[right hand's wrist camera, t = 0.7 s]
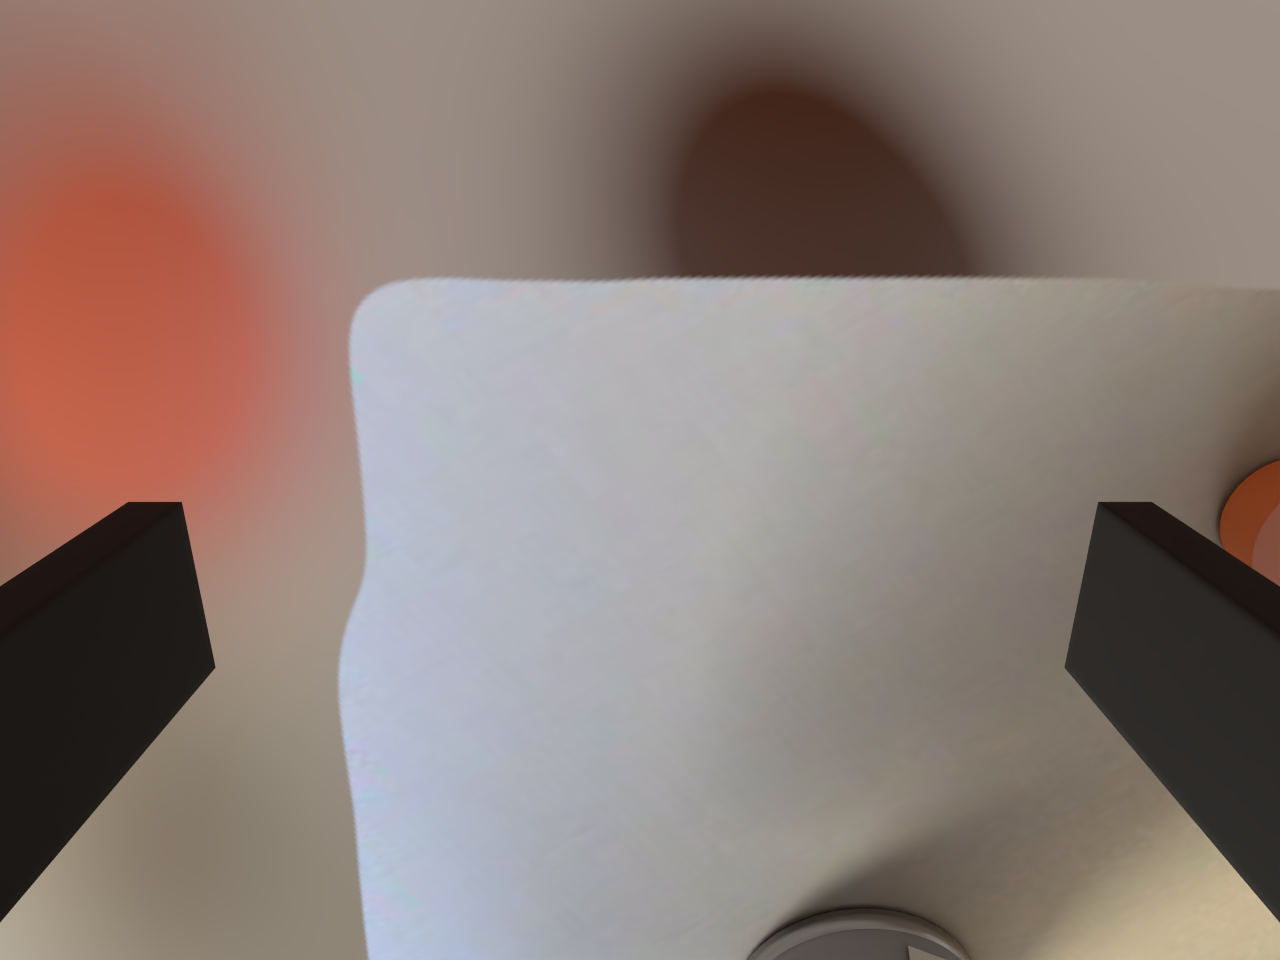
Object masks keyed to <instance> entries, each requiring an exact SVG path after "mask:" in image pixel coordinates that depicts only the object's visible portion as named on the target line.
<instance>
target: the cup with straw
mask: <svg viewBox="0 0 1280 960" xmlns="http://www.w3.org/2000/svg"><path fill="white" fill-rule="evenodd" d="M1220 538H1221V542H1222V545H1223V547H1224V549H1225V551H1227V552H1228V553H1230V554H1231V555H1233V556H1234V557H1236V558H1237V559H1239V560H1240V561H1242V562H1244V563H1245V564H1247V565H1248V566H1250V567H1251V568H1253V569H1254V570H1256V571H1257V572H1259V573H1260V574H1262V575H1263V576H1265V577H1266V578H1268V579H1269V580H1271V581H1272V582H1274V583H1275V584H1277V585H1278V586H1280V460H1279V461H1276V462H1273V463H1270V464H1268V465H1266V466H1264V467H1262V468H1260V469H1259V470H1257V471H1255V472H1254V473H1253V474H1251V475H1250V476H1249V477H1247V478H1246V479H1245V480H1244V481H1243V482H1242V483H1241V484H1240V485H1239V486H1238V487H1237V488H1236V489H1235V490H1234V492H1233V493H1232V495H1231V496H1230V498H1229V499H1228V501H1227V503H1226V505H1225V507H1224V510H1223V512H1222V516H1221V520H1220Z"/></svg>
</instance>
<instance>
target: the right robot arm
mask: <svg viewBox="0 0 1280 960" xmlns="http://www.w3.org/2000/svg"><path fill="white" fill-rule="evenodd" d="M214 669H215V663H214V658H213V653H212V648H211V643H210V639H209V634H208V629H207V624H206V619H205V614H204V609H203V604H202V599H201V594H200V589H199V584H198V580H197V575H196V570H195V565H194V560H193V555H192V550H191V545H190V540H189V535H188V530H187V525H186V521H185V516H184V511H183V506H182V502H128V503H126V504H125V505H123V506H121V507H120V508H119V509H117V510H115V511H114V512H112V513H111V514H109V515H108V516H106V517H105V518H103V519H102V520H100V521H99V522H97V523H96V524H94V525H93V526H91V527H90V528H88V529H87V530H85V531H84V532H82V533H81V534H79V535H77V536H76V537H74V538H73V539H71V540H70V541H68V542H67V543H65V544H64V545H62V546H61V547H59V548H58V549H56V550H55V551H53V552H52V553H50V554H49V555H47V556H46V557H44V558H43V559H41V560H40V561H38V562H36V563H35V564H33V565H32V566H31V567H29V568H27V569H26V570H24V571H23V572H21V573H20V574H18V575H17V576H15V577H14V578H12V579H11V580H9V581H8V582H6V583H5V584H3V585H2V586H0V922H1V921H2V920H3V918H4V917H5V916H6V915H7V914H8V913H9V911H10V910H11V909H12V908H13V907H14V905H15V904H16V903H17V902H18V901H19V900H20V898H21V897H22V896H23V895H24V894H25V892H26V891H27V890H28V889H29V888H30V886H31V885H32V884H33V883H34V882H35V880H36V879H37V878H38V877H39V876H40V875H41V873H42V872H43V871H44V870H45V869H46V867H47V866H48V865H49V864H50V863H51V862H52V860H53V859H54V858H55V857H56V856H57V855H58V853H59V852H60V851H61V850H62V849H63V847H64V846H65V845H66V844H67V843H68V842H69V840H70V839H71V838H72V837H73V836H74V834H75V833H76V832H77V831H78V830H79V828H80V827H81V826H82V825H83V824H84V823H85V821H86V820H87V819H88V818H89V817H90V815H91V814H92V813H93V812H94V811H95V810H96V808H97V807H98V806H99V805H100V804H101V802H102V801H103V800H104V799H105V798H106V796H107V795H108V794H109V793H110V792H111V791H112V789H113V788H114V787H115V786H116V785H117V783H118V782H119V781H120V780H121V779H122V778H123V776H124V775H125V774H126V773H127V772H128V770H129V769H130V768H131V767H132V766H133V765H134V763H135V762H136V761H137V760H138V759H139V757H140V756H141V755H142V754H143V753H144V752H145V750H146V749H147V748H148V747H149V746H150V744H151V743H152V742H153V741H154V740H155V739H156V737H157V736H158V735H159V734H160V733H161V731H162V730H163V729H164V728H165V727H166V725H167V724H168V723H169V722H170V721H171V720H172V718H173V717H174V716H175V715H176V714H177V712H178V711H179V710H180V709H181V708H182V707H183V705H184V704H185V703H186V702H187V701H188V699H189V698H190V697H191V696H192V695H193V694H194V692H195V691H196V690H197V689H198V688H199V686H200V685H201V684H202V683H203V682H204V681H205V679H206V678H207V677H208V676H209V675H210V673H211V672H212V671H213V670H214ZM1065 669H1066V670H1067V671H1068V672H1069V673H1070V675H1071V676H1072V677H1073V678H1074V679H1075V681H1076V682H1077V683H1078V684H1079V685H1080V686H1081V688H1082V689H1083V690H1084V691H1085V692H1086V694H1087V695H1088V696H1089V697H1090V698H1091V699H1092V701H1093V702H1094V703H1095V704H1096V705H1097V707H1098V708H1099V709H1100V710H1101V711H1102V712H1103V714H1104V715H1105V716H1106V717H1107V718H1108V720H1109V721H1110V722H1111V723H1112V724H1113V726H1114V727H1115V728H1116V729H1117V730H1118V731H1119V733H1120V734H1121V735H1122V736H1123V737H1124V739H1125V740H1126V741H1127V742H1128V743H1129V744H1130V746H1131V747H1132V748H1133V749H1134V750H1135V752H1136V753H1137V754H1138V755H1139V756H1140V757H1141V759H1142V760H1143V761H1144V762H1145V763H1146V765H1147V766H1148V767H1149V768H1150V769H1151V770H1152V772H1153V773H1154V774H1155V775H1156V776H1157V778H1158V779H1159V780H1160V781H1161V782H1162V784H1163V785H1164V786H1165V787H1166V788H1167V789H1168V791H1169V792H1170V793H1171V794H1172V795H1173V797H1174V798H1175V799H1176V800H1177V801H1178V802H1179V804H1180V805H1181V806H1182V807H1183V808H1184V810H1185V811H1186V812H1187V813H1188V814H1189V815H1190V817H1191V818H1192V819H1193V820H1194V821H1195V823H1196V824H1197V825H1198V826H1199V827H1200V829H1201V830H1202V831H1203V832H1204V833H1205V834H1206V836H1207V837H1208V838H1209V839H1210V840H1211V842H1212V843H1213V844H1214V845H1215V846H1216V847H1217V849H1218V850H1219V851H1220V852H1221V853H1222V855H1223V856H1224V857H1225V858H1226V859H1227V860H1228V862H1229V863H1230V864H1231V865H1232V866H1233V868H1234V869H1235V870H1236V871H1237V872H1238V873H1239V875H1240V876H1241V877H1242V878H1243V879H1244V881H1245V882H1246V883H1247V884H1248V885H1249V887H1250V888H1251V889H1252V890H1253V891H1254V892H1255V894H1256V895H1257V896H1258V897H1259V898H1260V900H1261V901H1262V902H1263V903H1264V904H1265V905H1266V907H1267V908H1268V909H1269V910H1270V911H1271V913H1272V914H1273V915H1274V916H1275V917H1276V918H1277V920H1278V921H1279V922H1280V586H1278V585H1277V584H1275V583H1274V582H1272V581H1271V580H1269V579H1268V578H1266V577H1265V576H1263V575H1262V574H1260V573H1259V572H1257V571H1256V570H1254V569H1253V568H1251V567H1250V566H1248V565H1247V564H1245V563H1244V562H1242V561H1240V560H1239V559H1237V558H1236V557H1234V556H1233V555H1231V554H1230V553H1228V552H1227V551H1225V550H1224V549H1222V548H1221V547H1219V546H1218V545H1216V544H1215V543H1213V542H1212V541H1210V540H1209V539H1207V538H1206V537H1204V536H1203V535H1201V534H1199V533H1198V532H1196V531H1195V530H1193V529H1192V528H1190V527H1189V526H1187V525H1186V524H1184V523H1183V522H1181V521H1180V520H1178V519H1177V518H1175V517H1174V516H1172V515H1171V514H1169V513H1168V512H1166V511H1165V510H1163V509H1162V508H1160V507H1159V506H1157V505H1155V504H1154V503H1152V502H1098V506H1097V511H1096V516H1095V521H1094V525H1093V530H1092V535H1091V540H1090V545H1089V550H1088V555H1087V560H1086V565H1085V570H1084V575H1083V580H1082V584H1081V589H1080V594H1079V599H1078V604H1077V609H1076V614H1075V619H1074V624H1073V629H1072V634H1071V639H1070V643H1069V648H1068V653H1067V658H1066V663H1065ZM748 960H969V958H968V957H967V955H966V953H965V952H964V950H963V949H962V948H961V946H960V945H959V944H958V943H957V942H956V941H955V940H954V939H953V938H952V937H951V936H950V935H948V934H947V933H946V932H945V931H943V930H942V929H940V928H939V927H937V926H935V925H933V924H931V923H929V922H928V921H925V920H923V919H920V918H918V917H915V916H912V915H909V914H905V913H901V912H896V911H891V910H884V909H870V908H867V909H846V910H839V911H833V912H828V913H824V914H820V915H816V916H813V917H810V918H807V919H804V920H802V921H799V922H797V923H795V924H793V925H791V926H789V927H787V928H785V929H783V930H781V931H780V932H778V933H776V934H775V935H774V936H772V937H771V938H769V939H768V940H767V941H766V942H764V943H763V944H762V945H761V946H760V947H759V948H758V949H757V950H756V951H755V952H754V953H753V954H752V955H751V956H750V958H749V959H748Z"/></svg>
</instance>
